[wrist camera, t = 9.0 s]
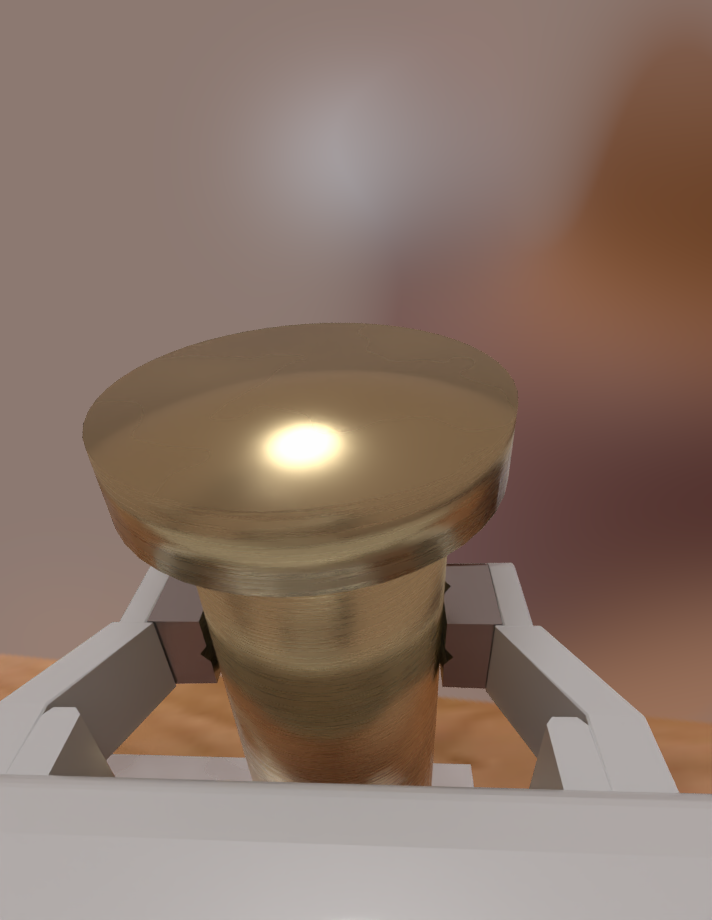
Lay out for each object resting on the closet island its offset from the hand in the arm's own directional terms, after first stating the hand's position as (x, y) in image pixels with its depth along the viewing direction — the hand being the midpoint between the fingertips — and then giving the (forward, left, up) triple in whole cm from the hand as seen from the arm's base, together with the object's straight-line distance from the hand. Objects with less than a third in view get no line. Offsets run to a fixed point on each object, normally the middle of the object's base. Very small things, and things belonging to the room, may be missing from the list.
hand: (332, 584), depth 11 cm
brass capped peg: (0, -1, -7) cm, 7 cm away
